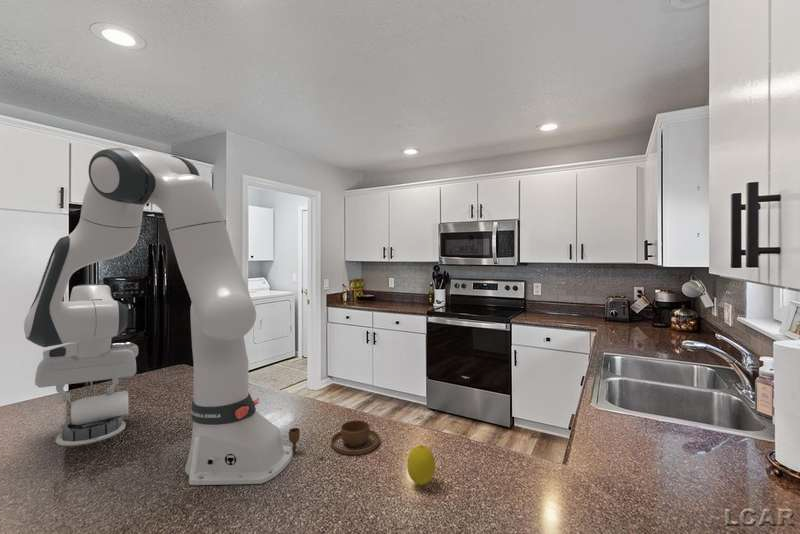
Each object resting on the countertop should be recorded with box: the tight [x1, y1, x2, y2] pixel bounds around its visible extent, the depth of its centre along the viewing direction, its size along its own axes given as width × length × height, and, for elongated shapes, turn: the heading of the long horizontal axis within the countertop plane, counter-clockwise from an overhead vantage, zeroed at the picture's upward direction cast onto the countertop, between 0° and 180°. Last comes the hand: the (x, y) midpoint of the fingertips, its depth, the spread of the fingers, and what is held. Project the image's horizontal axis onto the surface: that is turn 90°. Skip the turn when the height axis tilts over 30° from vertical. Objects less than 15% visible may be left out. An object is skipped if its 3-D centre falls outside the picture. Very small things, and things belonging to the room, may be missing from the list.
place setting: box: [288, 419, 381, 461], centre depth 92 cm, size 18×20×6 cm
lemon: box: [406, 444, 436, 486], centre depth 74 cm, size 6×6×8 cm
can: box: [69, 390, 130, 425], centre depth 99 cm, size 6×6×12 cm
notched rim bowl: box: [55, 416, 127, 447], centre depth 97 cm, size 14×14×3 cm
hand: (88, 397), depth 97 cm, fingers open, 7 cm apart
